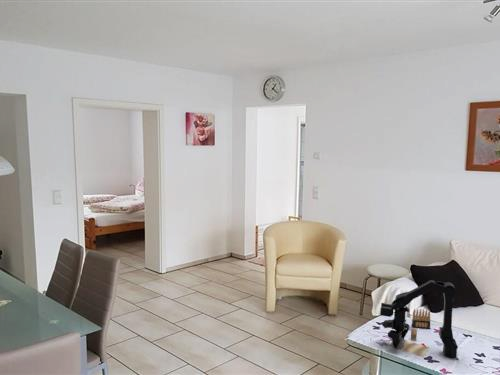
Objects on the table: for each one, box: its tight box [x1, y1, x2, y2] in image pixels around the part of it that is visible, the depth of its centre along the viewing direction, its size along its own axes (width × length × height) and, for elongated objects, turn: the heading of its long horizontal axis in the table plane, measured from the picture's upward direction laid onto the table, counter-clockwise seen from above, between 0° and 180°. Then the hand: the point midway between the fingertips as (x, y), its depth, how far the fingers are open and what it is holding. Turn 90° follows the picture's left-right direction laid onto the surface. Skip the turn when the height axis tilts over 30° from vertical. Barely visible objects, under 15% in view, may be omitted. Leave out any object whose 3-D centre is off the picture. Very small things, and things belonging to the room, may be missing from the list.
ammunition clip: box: [411, 308, 431, 330], centre depth 254 cm, size 11×2×12 cm, turn 84°
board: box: [388, 339, 431, 358], centre depth 226 cm, size 18×14×1 cm
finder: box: [391, 337, 405, 351], centre depth 226 cm, size 5×5×5 cm
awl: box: [410, 328, 418, 342], centre depth 235 cm, size 3×3×7 cm
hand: (397, 345), depth 226 cm, fingers open, 9 cm apart
